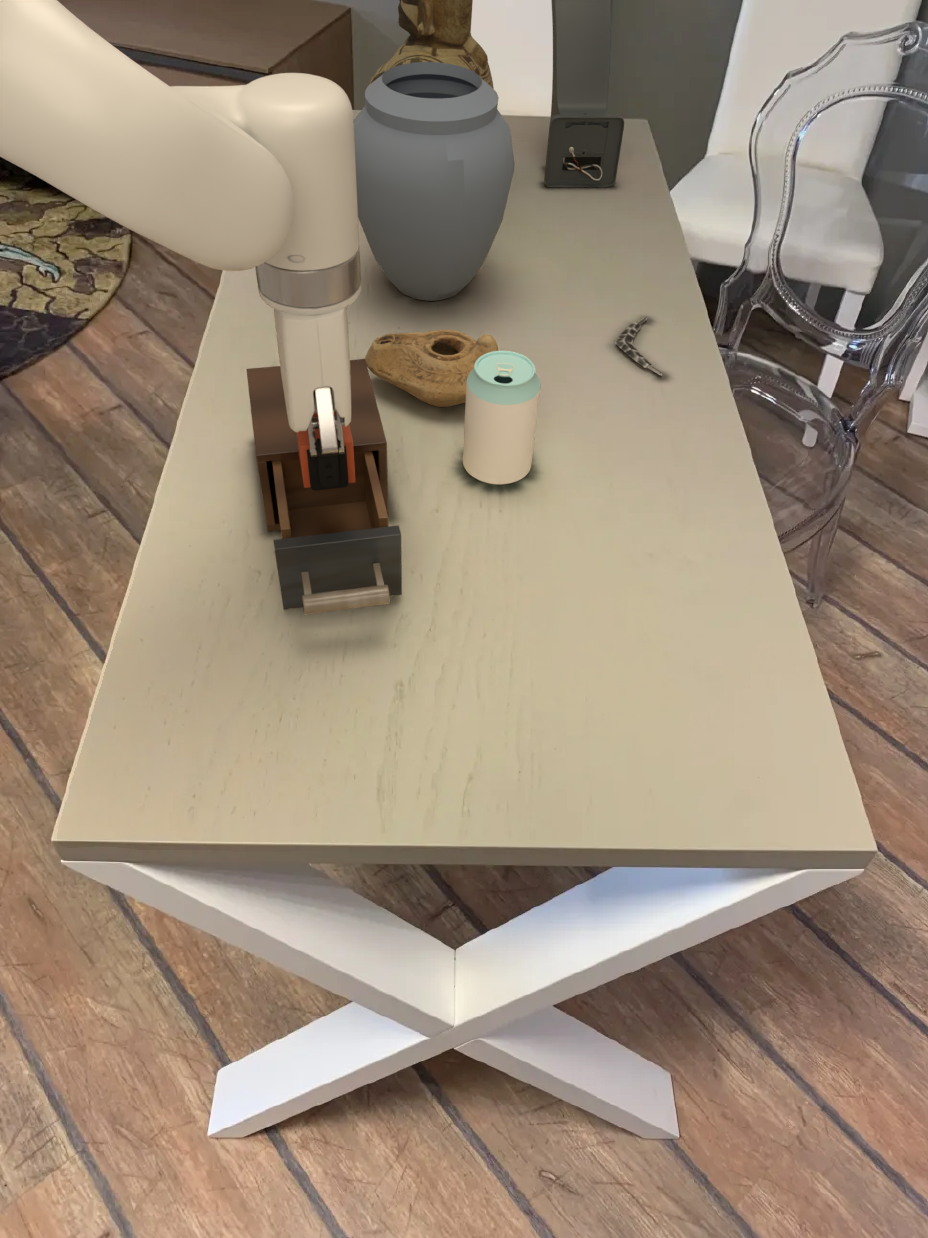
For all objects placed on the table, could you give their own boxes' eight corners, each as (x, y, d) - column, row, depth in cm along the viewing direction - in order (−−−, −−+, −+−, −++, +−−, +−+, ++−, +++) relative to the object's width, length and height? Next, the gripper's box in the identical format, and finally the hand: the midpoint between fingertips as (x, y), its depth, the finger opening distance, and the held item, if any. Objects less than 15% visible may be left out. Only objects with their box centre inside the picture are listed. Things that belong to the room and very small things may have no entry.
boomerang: (608, 311, 117) (647, 314, 117) (607, 317, 118) (646, 320, 118) (622, 370, 109) (664, 373, 109) (620, 375, 109) (663, 378, 109)
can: (543, 476, 97) (557, 376, 88) (485, 497, 94) (492, 396, 85) (507, 438, 101) (516, 339, 92) (450, 458, 98) (453, 357, 89)
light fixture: (592, 141, 154) (616, -34, 136) (615, 188, 143) (644, 3, 125) (527, 141, 153) (542, -35, 135) (544, 188, 142) (564, 2, 124)
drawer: (410, 631, 81) (410, 570, 75) (288, 647, 79) (278, 587, 73) (380, 502, 92) (378, 442, 86) (272, 514, 90) (262, 453, 84)
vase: (410, 235, 130) (409, 37, 112) (532, 278, 124) (552, 75, 105) (322, 294, 119) (305, 84, 101) (451, 344, 112) (459, 129, 94)
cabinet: (388, 517, 91) (386, 442, 85) (267, 531, 89) (255, 455, 83) (368, 433, 100) (365, 358, 93) (257, 444, 98) (246, 368, 92)
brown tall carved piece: (328, 178, 141) (312, -63, 119) (425, 140, 152) (427, -88, 130) (420, 221, 133) (422, -29, 111) (515, 177, 144) (534, -58, 122)
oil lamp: (367, 363, 109) (365, 300, 103) (497, 366, 110) (501, 303, 104) (363, 421, 102) (360, 356, 96) (502, 423, 102) (507, 359, 96)
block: (304, 488, 80) (299, 446, 77) (299, 456, 83) (294, 414, 80) (355, 482, 81) (353, 441, 78) (348, 451, 84) (346, 409, 81)
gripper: (248, 219, 73) (274, 414, 87) (264, 337, 62) (291, 538, 76) (344, 214, 74) (355, 406, 88) (377, 328, 64) (384, 528, 77)
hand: (325, 466), depth 82 cm, fingers closed on block, 4 cm apart
